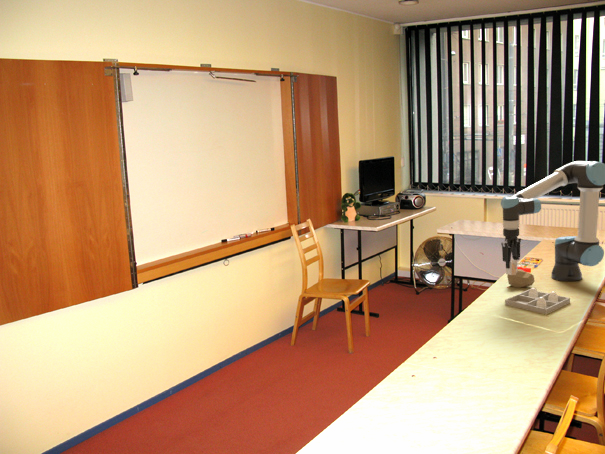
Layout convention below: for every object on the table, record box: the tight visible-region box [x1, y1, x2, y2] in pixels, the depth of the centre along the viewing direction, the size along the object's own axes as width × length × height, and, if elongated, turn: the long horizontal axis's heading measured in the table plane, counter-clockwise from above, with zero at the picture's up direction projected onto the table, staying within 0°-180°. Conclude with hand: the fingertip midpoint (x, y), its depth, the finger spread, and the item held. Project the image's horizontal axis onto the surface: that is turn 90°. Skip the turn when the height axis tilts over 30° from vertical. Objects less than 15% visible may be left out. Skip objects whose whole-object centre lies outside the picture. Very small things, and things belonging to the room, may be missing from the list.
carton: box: [504, 288, 571, 315], centre depth 254 cm, size 21×21×3 cm
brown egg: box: [507, 263, 516, 275], centre depth 265 cm, size 4×4×6 cm
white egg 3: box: [548, 291, 559, 303], centre depth 252 cm, size 4×4×6 cm
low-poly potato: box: [506, 268, 535, 288], centre depth 281 cm, size 15×11×12 cm
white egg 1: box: [529, 287, 538, 298], centre depth 260 cm, size 4×4×6 cm
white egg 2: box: [537, 297, 546, 309], centre depth 247 cm, size 4×4×6 cm
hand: (511, 273), depth 266 cm, fingers closed on brown egg, 4 cm apart
